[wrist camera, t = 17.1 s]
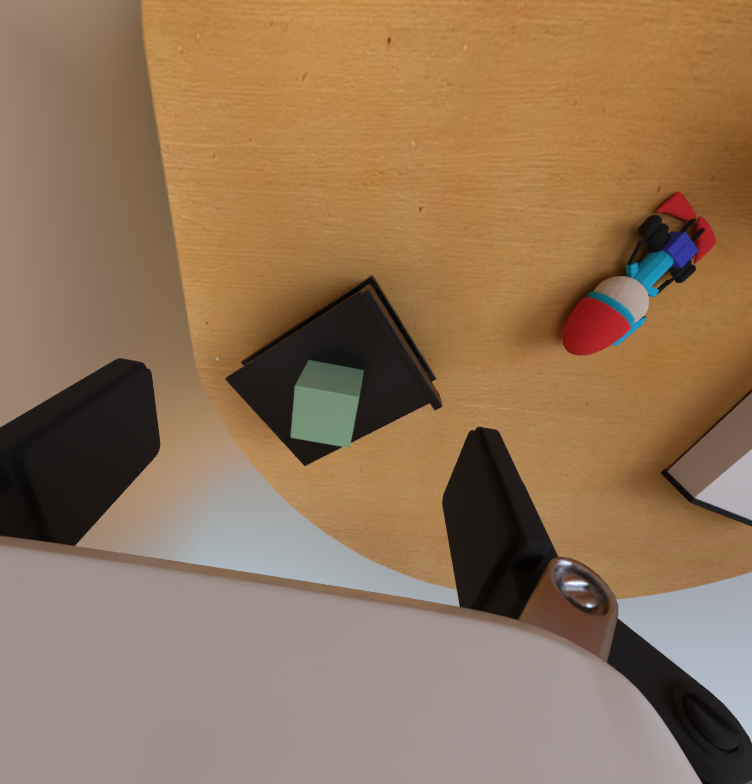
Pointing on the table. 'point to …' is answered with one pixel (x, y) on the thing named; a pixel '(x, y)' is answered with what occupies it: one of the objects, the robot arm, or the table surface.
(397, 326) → the plate
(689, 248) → the toy figure
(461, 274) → the table surface
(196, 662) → the robot arm
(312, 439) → the cube
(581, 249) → the table surface
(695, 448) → the disc drive
